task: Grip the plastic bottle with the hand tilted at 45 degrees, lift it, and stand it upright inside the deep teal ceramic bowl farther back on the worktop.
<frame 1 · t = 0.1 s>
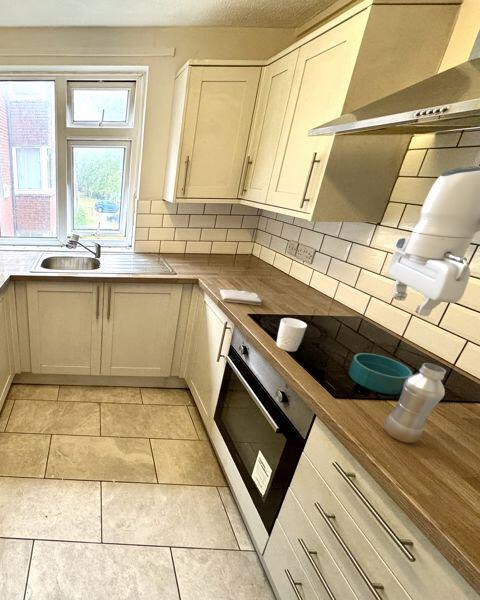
hand: (409, 306, 73), 31 cm above the worktop, tool pointing down, fingers open, 8 cm apart
white cup: (286, 347, 116), on the worktop
bowl: (374, 381, 97), on the worktop
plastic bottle: (398, 436, 77), on the worktop
washcloth: (239, 300, 158), on the worktop
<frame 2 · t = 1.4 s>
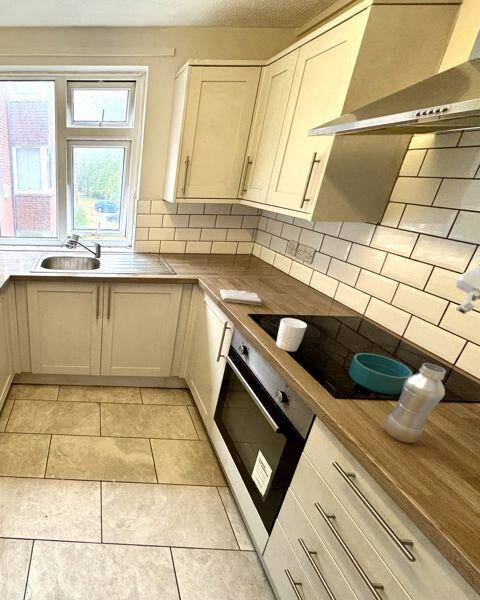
nothing on the worktop moved.
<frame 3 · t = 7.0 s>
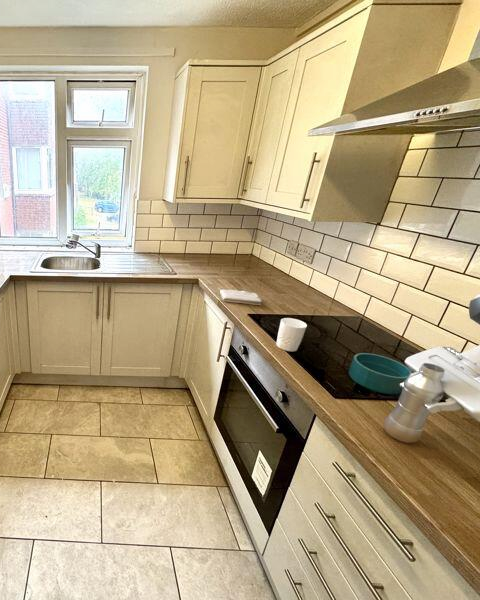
hand: (414, 398, 73), 11 cm above the worktop, tool tilted 45°, fingers closed on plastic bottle, 6 cm apart
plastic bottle: (397, 436, 77), on the worktop, touching gripper
everything else where it was.
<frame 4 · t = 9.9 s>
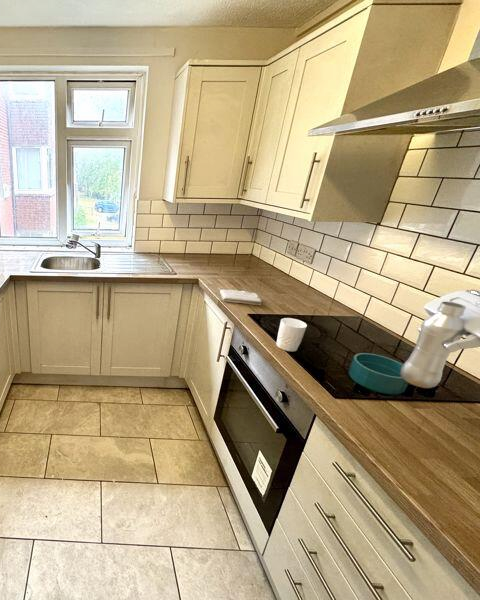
hand: (433, 340, 70), 25 cm above the worktop, tool tilted 45°, fingers closed on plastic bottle, 6 cm apart
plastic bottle: (415, 383, 74), point 14 cm above the worktop, touching gripper
everything else where it was.
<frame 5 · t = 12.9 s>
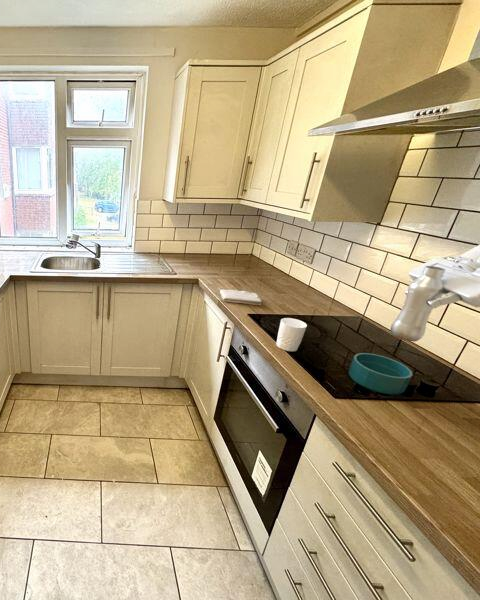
hand: (418, 300, 82), 29 cm above the worktop, tool tilted 45°, fingers closed on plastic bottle, 6 cm apart
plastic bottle: (403, 339, 86), point 18 cm above the worktop, touching gripper
everything else where it was.
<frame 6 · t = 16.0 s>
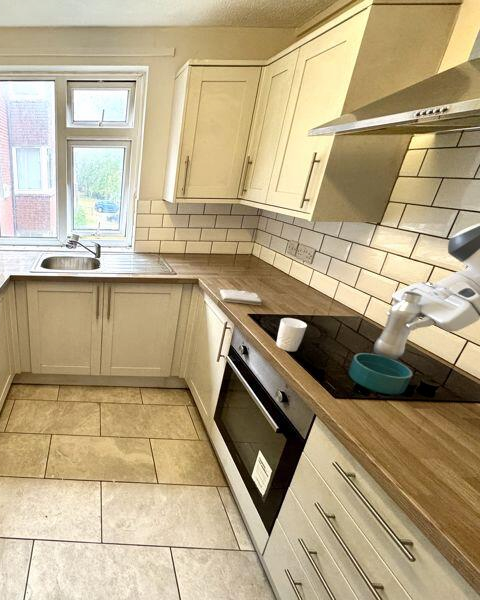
hand: (398, 322, 90), 20 cm above the worktop, tool tilted 45°, fingers closed on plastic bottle, 6 cm apart
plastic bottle: (385, 356, 94), point 9 cm above the worktop, touching gripper
everything else where it was.
when the fingers open (12 cm above the worktop, at t = 18.9 s): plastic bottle stays where it is, resting on bowl.
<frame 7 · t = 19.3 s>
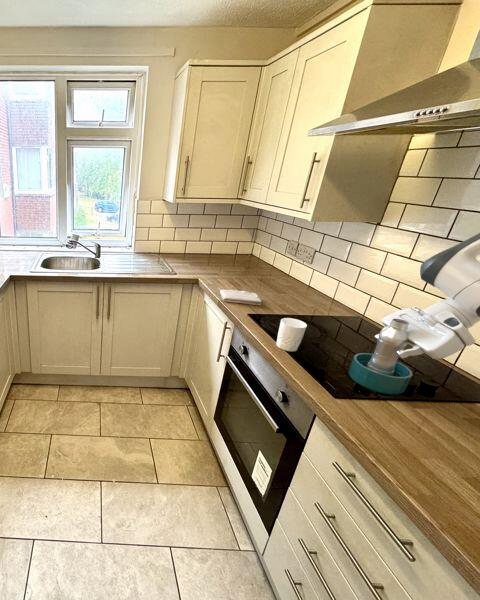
hand: (387, 347, 93), 12 cm above the worktop, tool tilted 45°, fingers open, 8 cm apart
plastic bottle: (374, 379, 97), resting on bowl
everything else where it was.
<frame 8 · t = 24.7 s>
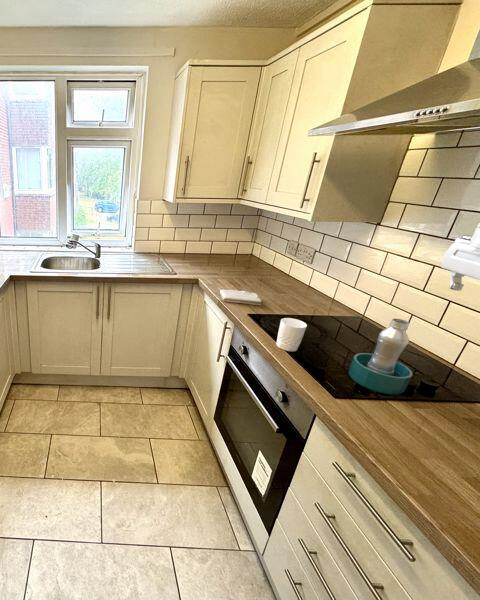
hand: (471, 296, 79), 31 cm above the worktop, tool pointing down, fingers open, 8 cm apart
nothing on the worktop moved.
at the end: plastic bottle inside the target area in the bowl (0.1 cm from its centre), point 0.4 cm above the bowl's base; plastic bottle tilted 0°; the gripper is holding nothing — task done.
